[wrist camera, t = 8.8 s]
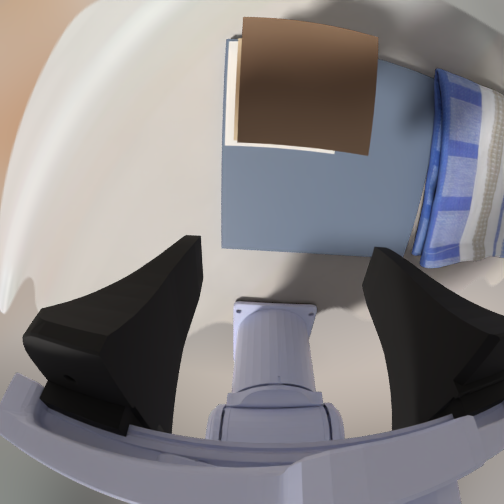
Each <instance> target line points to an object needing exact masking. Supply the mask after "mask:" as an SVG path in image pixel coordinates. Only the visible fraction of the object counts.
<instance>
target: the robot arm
mask: <svg viewBox="0 0 504 504" xmlns="http://www.w3.org/2000/svg"><path fill="white" fill-rule="evenodd" d="M202 282H203V266H202V250H201V236H192V235H186V236H184V237H183V238H181V239H180V240H178V241H177V242H176V243H174V244H173V245H172V246H171V247H169V248H168V249H167V250H165V251H164V252H163V253H161V254H160V255H159V256H157V257H156V258H154V259H153V260H151V261H150V262H149V263H147V264H146V265H144V266H143V267H141V268H140V269H138V270H137V271H135V272H133V273H132V274H130V275H128V276H127V277H125V278H123V279H121V280H119V281H117V282H115V283H113V284H111V285H109V286H107V287H105V288H103V289H100V290H98V291H96V292H94V293H91V294H89V295H86V296H83V297H80V298H78V299H75V300H72V301H68V302H65V303H61V304H58V305H54V306H50V307H46V308H42V309H41V310H40V311H39V313H38V314H37V316H36V317H35V319H34V320H33V321H32V323H31V324H30V326H29V327H28V329H27V331H26V332H25V333H24V335H23V345H24V347H25V350H26V352H27V353H28V355H29V356H30V358H31V359H32V361H33V362H34V363H35V365H36V366H37V367H38V369H39V370H40V371H41V372H42V374H43V375H44V376H45V377H46V379H47V380H48V381H47V383H46V386H45V387H43V386H42V385H41V384H40V383H38V382H36V381H34V380H32V379H30V378H28V377H26V376H24V375H22V374H20V373H18V372H17V373H15V375H14V377H13V379H12V381H11V382H10V384H9V386H8V388H7V390H6V392H5V395H4V397H3V398H2V401H1V403H0V435H1V436H2V437H4V438H5V439H6V440H8V441H9V442H10V443H12V444H13V445H15V446H16V447H17V448H19V449H20V450H22V451H23V452H25V453H26V454H28V455H29V456H31V457H32V458H34V459H36V460H37V461H39V462H40V463H42V464H44V465H45V466H47V467H49V468H51V469H53V470H55V471H56V472H58V473H60V474H62V475H63V476H65V477H67V478H69V479H71V480H73V481H76V482H78V483H80V484H82V485H84V486H86V487H88V488H91V489H93V490H95V491H98V492H100V493H103V494H106V495H108V496H110V497H113V498H116V499H119V500H122V501H125V502H128V503H131V504H461V499H460V492H459V487H458V482H457V480H458V479H461V478H463V477H464V476H466V475H468V474H470V473H472V472H473V471H475V470H477V469H478V468H480V467H482V466H483V465H484V463H485V462H486V461H487V460H489V459H491V458H492V457H494V456H495V455H497V454H498V453H499V452H501V451H502V450H504V316H503V315H500V314H497V313H495V312H492V311H490V310H487V309H485V308H483V307H481V306H478V305H476V304H474V303H472V302H470V301H468V300H466V299H465V298H462V297H461V296H459V295H457V294H456V293H454V292H452V291H451V290H449V289H447V288H446V287H444V286H443V285H441V284H440V283H438V282H437V281H435V280H434V279H432V278H431V277H429V276H428V275H427V274H425V273H424V272H423V271H421V270H420V269H418V268H417V267H416V266H414V265H413V264H412V263H410V262H409V261H407V260H406V259H405V258H403V257H402V256H400V255H399V254H397V253H396V252H394V251H392V250H391V249H389V248H387V247H374V250H373V253H372V257H371V260H370V263H369V266H368V269H367V272H366V275H365V278H364V281H363V284H362V286H363V291H364V295H365V299H366V303H367V307H368V309H369V312H370V315H371V317H372V320H373V323H374V325H375V328H376V331H377V333H378V336H379V339H380V341H381V345H382V348H383V351H384V354H385V360H386V364H387V370H388V376H389V383H390V391H391V404H392V431H389V432H384V433H379V434H373V435H368V436H362V437H355V438H348V439H345V438H344V426H343V421H342V417H341V415H340V412H339V411H338V410H337V409H336V408H335V407H334V406H333V404H332V403H329V402H328V403H323V400H322V392H316V389H315V381H314V374H313V366H312V360H311V352H310V345H309V337H310V334H311V330H312V327H313V323H314V320H315V316H316V312H317V307H316V306H315V305H309V304H281V303H260V302H242V301H237V302H235V303H234V361H235V362H234V373H233V383H232V393H228V395H227V405H226V404H218V405H217V406H216V408H215V409H213V410H212V411H211V413H210V415H209V418H208V423H207V429H206V439H201V438H194V437H187V436H181V435H175V434H172V423H173V412H174V403H175V395H176V388H177V381H178V374H179V369H180V363H181V358H182V352H183V348H184V344H185V340H186V337H187V334H188V331H189V328H190V325H191V322H192V319H193V316H194V313H195V310H196V307H197V304H198V301H199V297H200V292H201V287H202ZM238 310H240V311H238ZM309 313H311V314H309Z"/></svg>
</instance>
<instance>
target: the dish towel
mask: <svg viewBox="0 0 504 504" xmlns="http://www.w3.org/2000/svg"><path fill="white" fill-rule="evenodd" d="M434 93H435V95H434V109H435V115H434V126H433V135H432V144H431V152H430V160H429V168H428V172H427V178H426V184H425V194H424V201H423V206H422V211H421V216H420V221H419V225H418V229H417V234H416V238H415V242H414V245H413V249H412V252H411V253H412V254H413V255H415V256H417V255H421V259H420V265H421V266H422V267H425V268H439V267H443V266H447V265H451V264H455V263H458V262H462V261H479V260H482V259H484V258H486V257H491V256H495V257H499V258H504V95H503V94H501V93H499V92H497V91H495V90H493V89H490V88H487V87H484V86H481V85H479V84H477V83H475V82H473V81H470V80H468V79H465V78H463V77H460V76H458V75H455V74H452V73H450V72H447V71H445V70H442V69H436V70H435V79H434Z"/></svg>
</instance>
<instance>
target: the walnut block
mask: <svg viewBox="0 0 504 504" xmlns="http://www.w3.org/2000/svg"><path fill="white" fill-rule="evenodd" d="M377 67H378V37H375V36H372V35H368V34H365V33H361V32H357V31H353V30H349V29H344V28H340V27H335V26H330V25H324V24H318V23H312V22H305V21H297V20H288V19H277V18H261V17H243V29H242V46H241V65H240V86H239V108H238V134H237V143H257V144H274V145H286V146H297V147H307V148H316V149H324V150H332V151H339V152H346V153H353V154H359V155H365V156H368V154H369V148H370V141H371V133H372V125H373V116H374V107H375V96H376V83H377Z"/></svg>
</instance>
